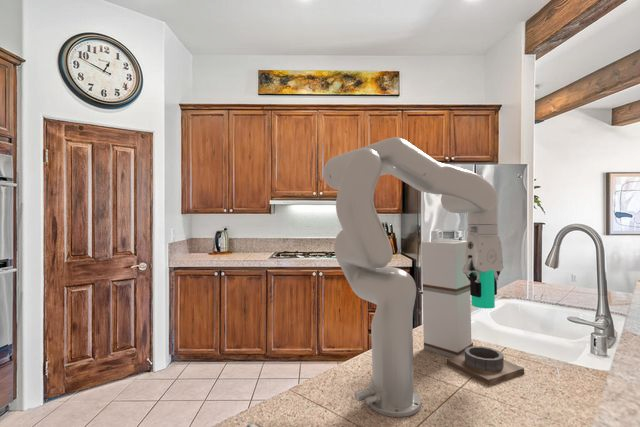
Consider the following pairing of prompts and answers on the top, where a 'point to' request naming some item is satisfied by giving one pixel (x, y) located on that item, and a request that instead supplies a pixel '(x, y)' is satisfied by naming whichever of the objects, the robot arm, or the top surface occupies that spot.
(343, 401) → the top surface
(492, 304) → the candle
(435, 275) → the tall banded pillar
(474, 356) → the candle stand
